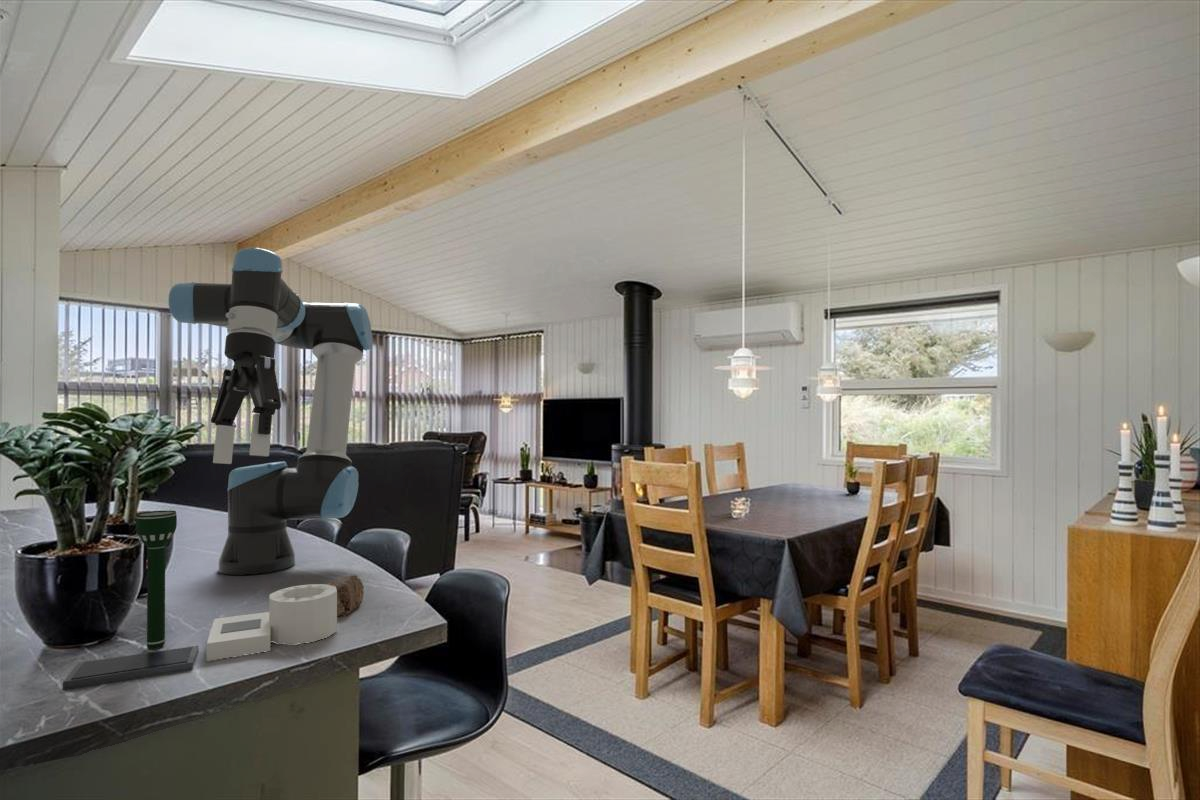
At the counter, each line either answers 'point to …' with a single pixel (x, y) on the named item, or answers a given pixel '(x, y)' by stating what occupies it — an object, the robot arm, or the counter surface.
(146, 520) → the flashlight
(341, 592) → the rock
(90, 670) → the phone
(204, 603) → the counter surface
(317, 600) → the block
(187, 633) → the counter surface
